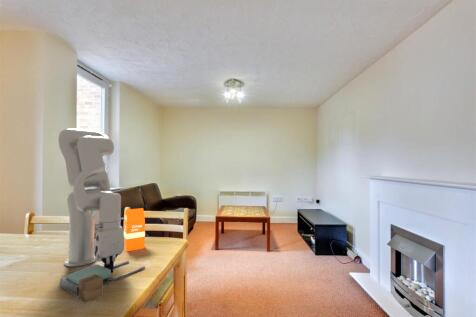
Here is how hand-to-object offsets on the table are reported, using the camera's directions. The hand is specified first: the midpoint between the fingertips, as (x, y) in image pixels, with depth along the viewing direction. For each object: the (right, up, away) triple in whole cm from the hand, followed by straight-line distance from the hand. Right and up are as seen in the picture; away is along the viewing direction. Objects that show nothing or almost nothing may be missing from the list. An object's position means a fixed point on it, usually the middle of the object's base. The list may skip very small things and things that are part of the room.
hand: (108, 272), depth 96 cm
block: (+2, -1, -15) cm, 16 cm away
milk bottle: (-28, -2, +41) cm, 50 cm away
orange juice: (-4, -2, +32) cm, 33 cm away
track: (0, -1, -1) cm, 1 cm away
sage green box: (-4, -1, -6) cm, 8 cm away
